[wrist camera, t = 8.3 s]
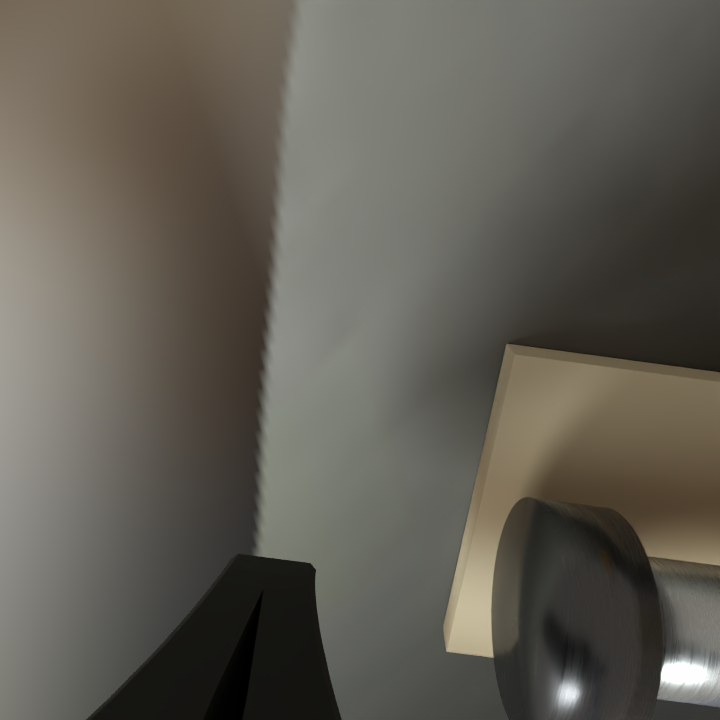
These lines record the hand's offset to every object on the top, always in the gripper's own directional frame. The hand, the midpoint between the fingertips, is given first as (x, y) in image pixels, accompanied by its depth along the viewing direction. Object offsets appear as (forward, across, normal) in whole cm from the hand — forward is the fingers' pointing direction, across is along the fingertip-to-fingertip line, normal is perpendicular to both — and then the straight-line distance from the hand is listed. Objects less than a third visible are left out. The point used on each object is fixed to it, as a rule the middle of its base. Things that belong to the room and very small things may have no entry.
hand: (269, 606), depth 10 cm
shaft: (+3, -10, 0) cm, 11 cm away
